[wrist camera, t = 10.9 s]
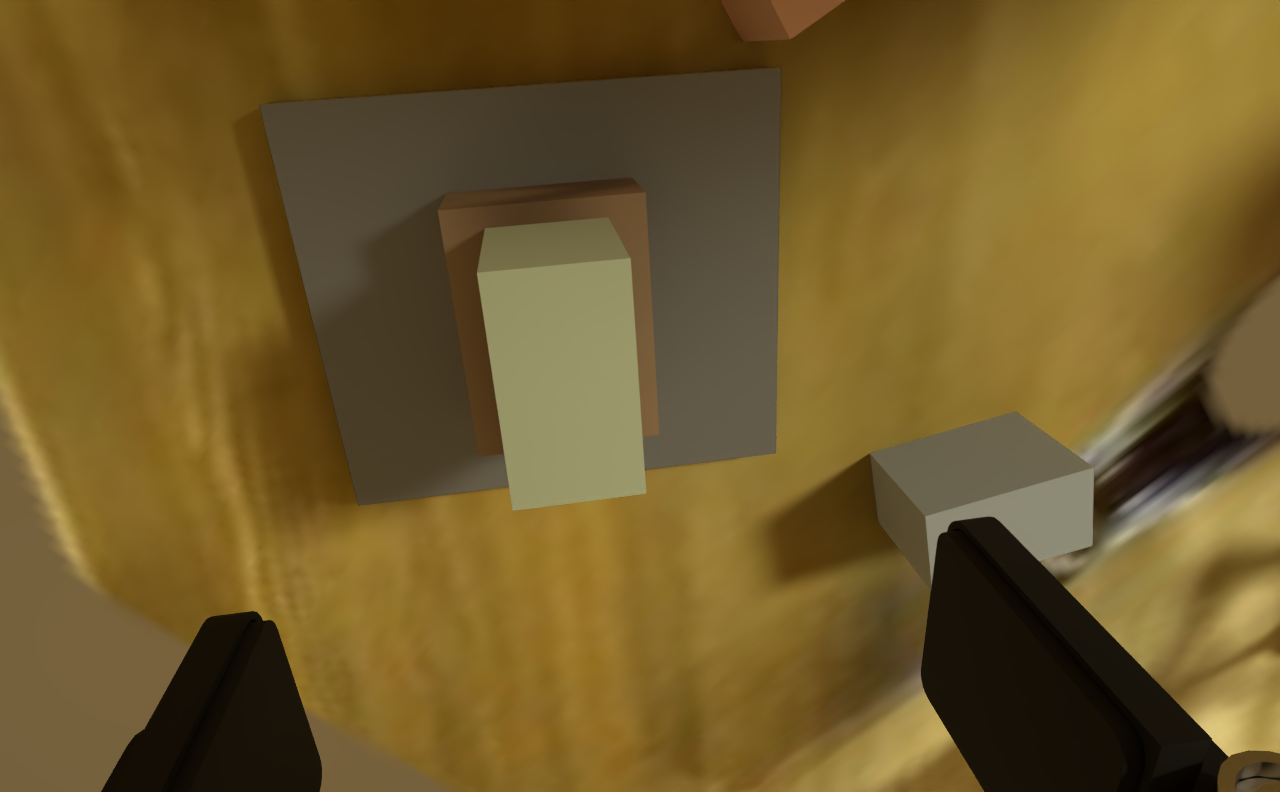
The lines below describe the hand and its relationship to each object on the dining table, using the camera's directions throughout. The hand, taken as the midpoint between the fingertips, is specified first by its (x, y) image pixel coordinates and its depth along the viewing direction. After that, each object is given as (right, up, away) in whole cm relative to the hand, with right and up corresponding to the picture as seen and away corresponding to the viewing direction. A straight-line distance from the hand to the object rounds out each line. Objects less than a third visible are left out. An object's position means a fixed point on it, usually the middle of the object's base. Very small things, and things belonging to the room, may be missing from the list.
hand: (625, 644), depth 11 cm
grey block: (+13, 0, +23) cm, 26 cm away
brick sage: (-2, +6, +13) cm, 14 cm away
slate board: (-3, +7, +17) cm, 19 cm away
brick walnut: (-3, +7, +16) cm, 17 cm away
